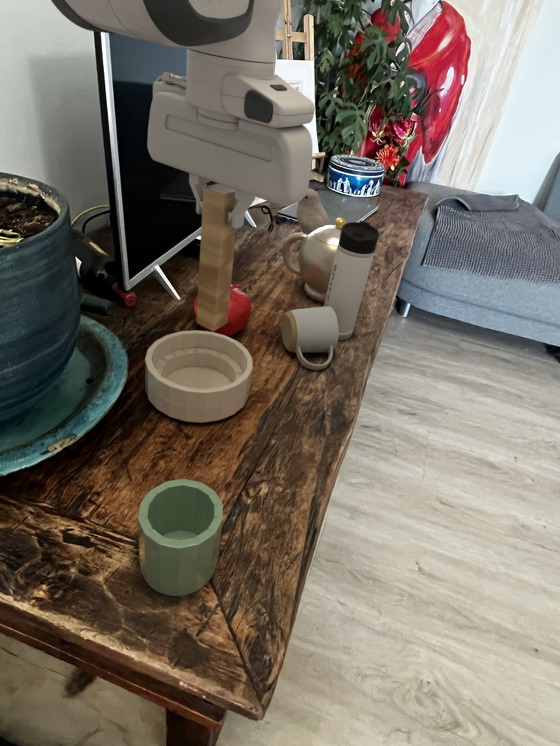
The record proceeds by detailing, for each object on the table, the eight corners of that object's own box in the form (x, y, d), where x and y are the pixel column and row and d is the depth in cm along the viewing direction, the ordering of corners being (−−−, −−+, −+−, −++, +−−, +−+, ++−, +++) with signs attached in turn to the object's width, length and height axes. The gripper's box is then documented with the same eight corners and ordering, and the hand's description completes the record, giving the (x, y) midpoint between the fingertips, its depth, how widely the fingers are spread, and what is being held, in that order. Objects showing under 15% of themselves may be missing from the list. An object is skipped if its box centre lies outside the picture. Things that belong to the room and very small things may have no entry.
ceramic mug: (276, 337, 87) (283, 299, 82) (319, 335, 90) (327, 298, 85) (295, 374, 79) (304, 334, 75) (341, 371, 82) (352, 332, 77)
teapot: (364, 291, 107) (384, 217, 98) (352, 319, 97) (374, 239, 87) (286, 269, 110) (298, 196, 101) (266, 294, 100) (278, 214, 90)
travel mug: (355, 327, 94) (383, 226, 82) (347, 344, 89) (377, 238, 77) (323, 318, 95) (347, 216, 83) (314, 334, 90) (338, 227, 78)
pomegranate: (256, 320, 91) (262, 273, 85) (238, 347, 83) (243, 298, 77) (205, 306, 92) (209, 259, 87) (183, 331, 84) (185, 282, 79)
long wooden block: (213, 331, 65) (224, 194, 55) (196, 322, 67) (203, 186, 56) (227, 323, 68) (240, 190, 57) (210, 314, 69) (219, 182, 58)
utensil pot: (183, 612, 46) (186, 564, 41) (123, 566, 49) (119, 515, 44) (232, 555, 52) (239, 506, 47) (175, 516, 54) (177, 466, 50)
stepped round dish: (205, 442, 64) (207, 407, 61) (123, 393, 69) (122, 359, 66) (266, 390, 75) (272, 358, 71) (192, 351, 80) (194, 319, 76)
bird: (281, 245, 121) (291, 183, 112) (333, 249, 124) (346, 189, 116) (285, 254, 117) (295, 190, 109) (338, 257, 121) (353, 195, 112)
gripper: (132, 67, 52) (136, 199, 60) (297, 112, 45) (275, 255, 53) (173, 68, 57) (171, 190, 65) (329, 109, 49) (304, 241, 57)
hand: (219, 220), depth 59 cm, fingers closed on long wooden block, 3 cm apart
